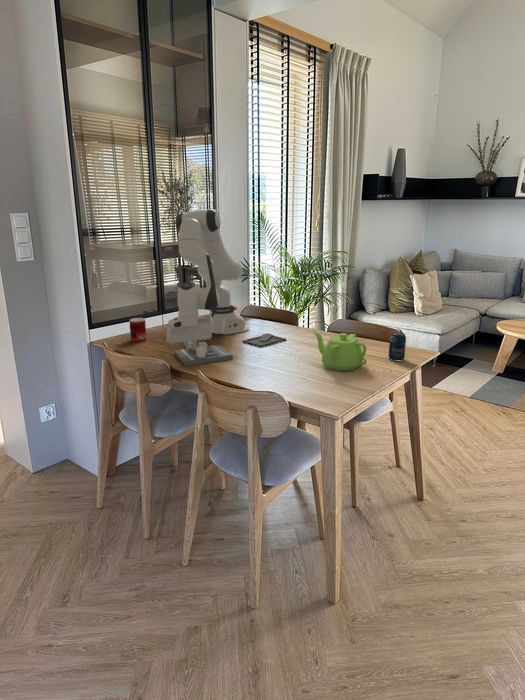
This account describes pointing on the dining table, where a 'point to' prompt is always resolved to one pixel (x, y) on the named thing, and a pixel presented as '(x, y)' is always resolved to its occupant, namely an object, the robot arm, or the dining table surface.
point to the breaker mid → (203, 346)
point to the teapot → (342, 352)
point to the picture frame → (263, 340)
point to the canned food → (138, 329)
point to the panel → (213, 355)
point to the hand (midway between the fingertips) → (190, 350)
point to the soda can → (397, 346)
